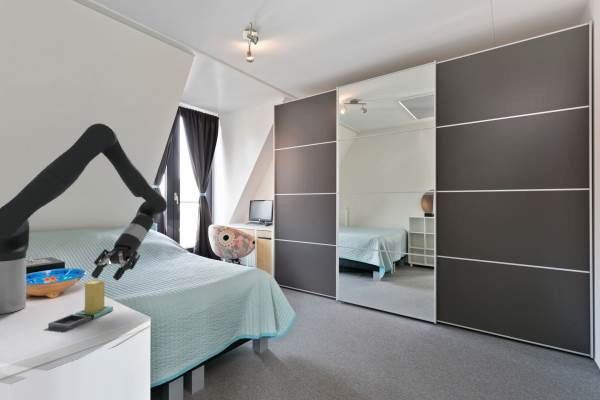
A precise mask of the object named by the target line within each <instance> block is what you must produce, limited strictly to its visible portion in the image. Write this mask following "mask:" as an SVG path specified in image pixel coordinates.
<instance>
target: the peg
mask: <svg viewBox="0 0 600 400" xmlns="http://www.w3.org/2000/svg"><path fill="white" fill-rule="evenodd" d="M104 306H105V280H98V279H97V280H96V279H95V280H91V281H87V282H85V283H84V309H85V313H93V314H95V313H97V312H99V311H102V310H104Z"/></svg>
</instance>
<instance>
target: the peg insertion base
mask: <svg viewBox="0 0 600 400" xmlns="http://www.w3.org/2000/svg"><path fill="white" fill-rule="evenodd" d="M113 311H114V306H110V305H108V306H107V305H104V310H102V311H99V312H97V313H95V314H93V313H85V308H84V309H82V310H79V311H75V313H72V314H69V315H66V316H63V317H61V318H59V319H55V320H53V321H51V322H48V323H47V324H48V325H47V327H46V328H44V329H43V331H47V332H54V333H61V334H63V333H66V332H68V331H70V330H73V329H74V328H77V327H79V326H82V325H83V324H86V323H89V322H91V321H92V320H95V319H97V318H100V317H102V316H104V315H106V314H109V313H110V312H113Z"/></svg>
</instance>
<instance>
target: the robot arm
mask: <svg viewBox="0 0 600 400" xmlns="http://www.w3.org/2000/svg"><path fill="white" fill-rule="evenodd" d="M100 154H102V155H104V157H106V159H107V160H108V161H109V162H110V163H111V165H112V166H113V168H114V169H115V171H116V172H117V174H118V175H119V177H120V179H121V180H122V182H123V184H124V185H125V186H126V188H127V189H128V190H129V191H130V192H131V194H132V195H133V196H134V197H135V198H142V199H143V200H144V201H143V202H142V203H141V205H140V206H139V208H138V209H137V212H136V213H135V214H136V215H135V217H133V219H132V221H131V222H130V223H129V224H128V226H126V227H125V229H124V230H123V232H121V234H120V236H119V237H118V238H117V240H116V241H115V243H114V246H113V249H112V250H108V249H107V248H104V249H103V250H102V251H101V253H100V254H99V255H98V257H97V258H96V259H95V260H94V262H93V264H94V265H95V266H96V267H95V268H94V270H93V271H92V273H91V277H92V278H93V279H98V278H99V277H100V275H101V273H103V271H104V269H106V268H107V267H111V266H112V265H117V264H118V265H119V266H120V267H118V268H117V270H116V271H115V273H114V274H113V275H112V278H113V279H114V280H115V281H119V280H120V279H121V278H122V277H123V275H124V274H125V272H127V271H128V270H134V267H135V266H136V264H137V262H138V261H139V259H140V257H141V254H140V253H139V252H138V250H139V248H140V247H141V245H142V244H143V242H144V241H145V239H146V237H147V235H148V233H149V232H150V230H151V229H152V227H153V225H154V220H153V219H154V218H155V217H156V216H157V215H160V214H162V213H164V212H166V210H167V207H168V203H167V201H166V199H165V198H164V196H163V195H162V194H161V193H159V192H158V191H157V190H156V189H155V188H154V187H153V186H151V185H150V183H148V181H147V179H146V178H145V177H144V175H143V174H142V172H141V171H140V170H139V169H138V168H137V167H136V165H135V164H134V163H133V162H132V160H131V159H130V158H129V157H128V155H127V153H126V152H125V151H124V149H123V147H122V145H121V143H120V141H119V139H118V136H117V134H116V131H114V129H113V128H112V127H111V126H109V125H107V124H105V123H100V122H99V123H93V124H91V125H89V127H87V128H86V129H85V131H84V132H83V133H82V134H81V136H80V137H79V138H78V139H77V140H76V141H75V142H74V143H73V144H72V145H71V146H70V147H69V148H68V149H66V150H65V151H64V152H63V153H62V154H60V155H59V156H58V157H56V158H55V159H54V160H53V161H52V162H50V163H49V164H48V165H46V167H44V168H43V169H42V170H41V171H40V172H39V173H38V174H37V175H35V177H34V178H33V179H32V180H31V181H30V182H29V183H28V184H26V185H25V186H24V187H23V188H22V189H21V190H20V192H18V193H17V194H16V195H15V196H14V197H13V198H12V199H10V200H9V201H8V202H7V203H5V204H4V205H3V206H2V205H1V207H0V315H3V314H5V315H6V314H8V313H13V312H17V311H21V310H22V309H25V308H26V306H27V251H28V250H29V244H30V223H29V222H30V221H29V219H30V217H31V216H33V215H34V214H35V213H37V211H38V210H39V209H41V208H43V207H45V206H46V205H47V204H48V205H49V203H51V202H52V201H54V200H56V199H57V198H59V196H61V195H62V194H64V193H65V192H66V191H67V190H68V189H69V188H70V187H71V186H72V185H73V184H74V183H75V182H76V181H77V180H78V179H79V177H81V175H82V173H83V172H84V171H85V169H86V168H87V166H88V165H89V164H90V162H91V161H93V160H94V159H95V158H96V157H97V156H98V155H100Z"/></svg>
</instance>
